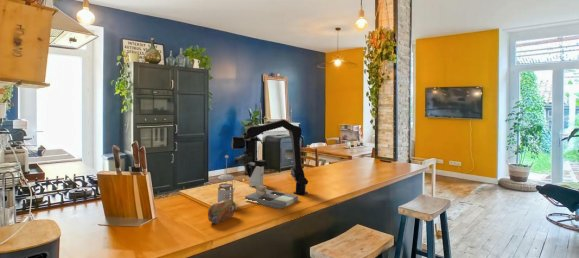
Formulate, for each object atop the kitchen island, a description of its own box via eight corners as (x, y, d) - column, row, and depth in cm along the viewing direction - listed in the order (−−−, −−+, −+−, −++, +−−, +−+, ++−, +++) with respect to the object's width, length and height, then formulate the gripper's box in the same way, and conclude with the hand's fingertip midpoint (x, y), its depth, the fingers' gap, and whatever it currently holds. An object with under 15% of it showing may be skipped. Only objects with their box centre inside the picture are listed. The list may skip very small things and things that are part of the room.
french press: (211, 204, 164) (212, 155, 162) (226, 198, 175) (227, 152, 172) (226, 208, 160) (228, 157, 158) (241, 202, 170) (242, 154, 168)
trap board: (263, 193, 188) (264, 188, 188) (297, 200, 178) (298, 195, 178) (245, 200, 173) (245, 196, 173) (281, 209, 162) (281, 204, 162)
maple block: (260, 192, 181) (260, 185, 181) (266, 193, 179) (266, 186, 179) (255, 193, 178) (256, 186, 177) (262, 195, 176) (262, 187, 175)
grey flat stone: (211, 226, 137) (212, 206, 137) (206, 224, 139) (206, 205, 138) (235, 216, 150) (236, 198, 149) (230, 214, 152) (231, 197, 151)
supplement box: (260, 187, 200) (260, 167, 199) (248, 186, 201) (249, 166, 200) (263, 184, 207) (264, 164, 206) (252, 183, 209) (253, 163, 208)
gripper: (227, 148, 178) (227, 177, 179) (256, 152, 169) (255, 182, 170) (240, 146, 187) (239, 173, 189) (268, 150, 178) (266, 178, 180)
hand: (249, 176), depth 182 cm, fingers closed
